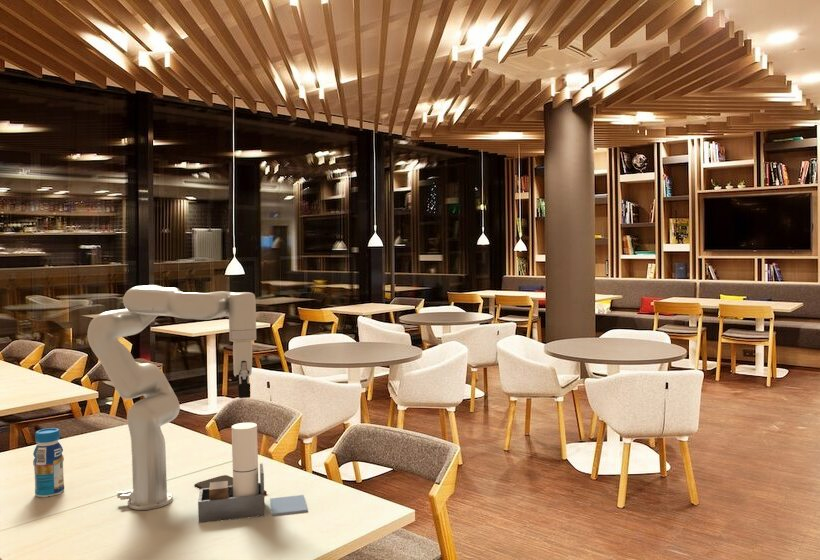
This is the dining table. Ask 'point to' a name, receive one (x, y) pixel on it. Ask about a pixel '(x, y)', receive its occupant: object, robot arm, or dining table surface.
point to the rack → (231, 504)
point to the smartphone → (217, 479)
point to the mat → (288, 505)
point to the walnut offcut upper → (218, 490)
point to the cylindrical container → (245, 459)
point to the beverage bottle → (48, 463)
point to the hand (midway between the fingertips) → (244, 394)
